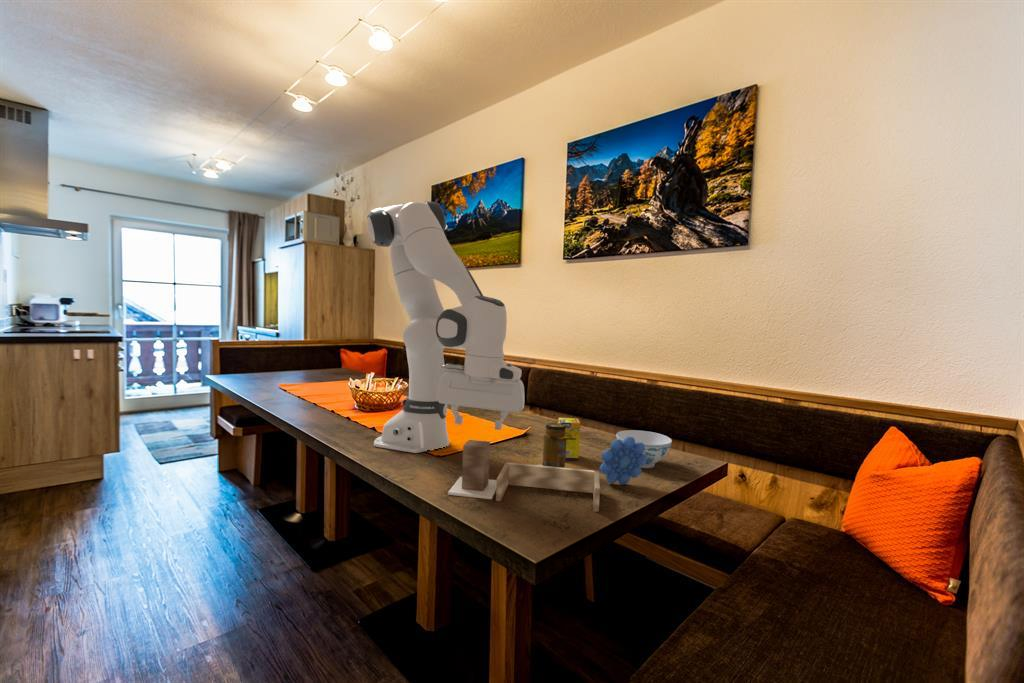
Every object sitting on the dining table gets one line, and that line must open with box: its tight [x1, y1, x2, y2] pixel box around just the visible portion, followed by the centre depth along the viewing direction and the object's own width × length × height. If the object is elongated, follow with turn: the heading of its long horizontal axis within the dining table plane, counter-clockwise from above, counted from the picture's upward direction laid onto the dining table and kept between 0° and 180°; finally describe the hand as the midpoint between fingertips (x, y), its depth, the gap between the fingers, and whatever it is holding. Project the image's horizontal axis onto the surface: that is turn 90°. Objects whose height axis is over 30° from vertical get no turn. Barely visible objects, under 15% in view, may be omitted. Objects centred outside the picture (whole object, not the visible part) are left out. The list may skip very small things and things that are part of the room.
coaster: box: [447, 476, 497, 500], centre depth 105 cm, size 10×10×1 cm
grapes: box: [599, 437, 647, 485], centre depth 112 cm, size 12×7×12 cm, turn 92°
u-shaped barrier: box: [495, 462, 601, 513], centre depth 102 cm, size 22×11×5 cm, turn 81°
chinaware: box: [615, 429, 673, 469], centre depth 127 cm, size 15×15×8 cm
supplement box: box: [557, 417, 581, 462], centre depth 131 cm, size 6×6×11 cm
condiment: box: [537, 422, 567, 468], centre depth 119 cm, size 7×8×12 cm
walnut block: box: [461, 439, 491, 491], centre depth 104 cm, size 5×5×10 cm
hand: (478, 426), depth 105 cm, fingers open, 8 cm apart
